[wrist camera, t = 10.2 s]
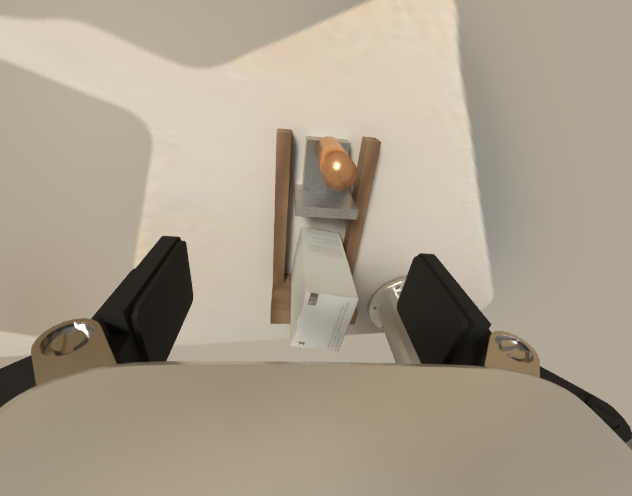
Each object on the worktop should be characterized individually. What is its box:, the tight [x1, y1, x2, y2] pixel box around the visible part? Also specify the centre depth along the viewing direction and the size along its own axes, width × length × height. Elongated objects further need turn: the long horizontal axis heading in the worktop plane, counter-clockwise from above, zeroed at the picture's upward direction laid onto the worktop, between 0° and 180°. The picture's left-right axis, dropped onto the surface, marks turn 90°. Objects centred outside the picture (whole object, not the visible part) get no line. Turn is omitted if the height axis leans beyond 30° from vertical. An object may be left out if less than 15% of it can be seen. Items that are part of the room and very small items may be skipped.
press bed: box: [271, 129, 381, 324], centre depth 35 cm, size 12×24×8 cm, turn 174°
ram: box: [294, 136, 359, 220], centre depth 30 cm, size 7×8×11 cm
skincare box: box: [290, 227, 359, 351], centre depth 35 cm, size 8×6×15 cm
